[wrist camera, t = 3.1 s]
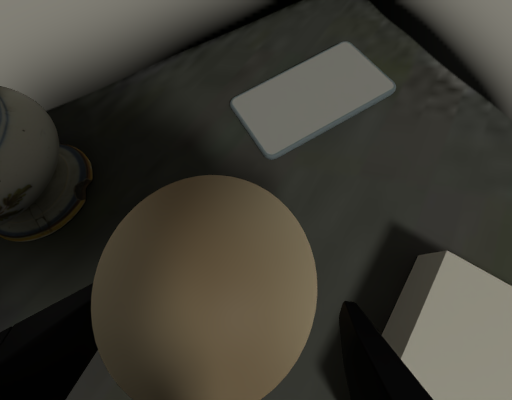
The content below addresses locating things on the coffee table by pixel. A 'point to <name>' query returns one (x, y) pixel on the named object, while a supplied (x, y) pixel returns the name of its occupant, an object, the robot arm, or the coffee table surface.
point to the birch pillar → (204, 293)
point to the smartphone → (310, 99)
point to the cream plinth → (454, 329)
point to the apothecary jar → (36, 171)
